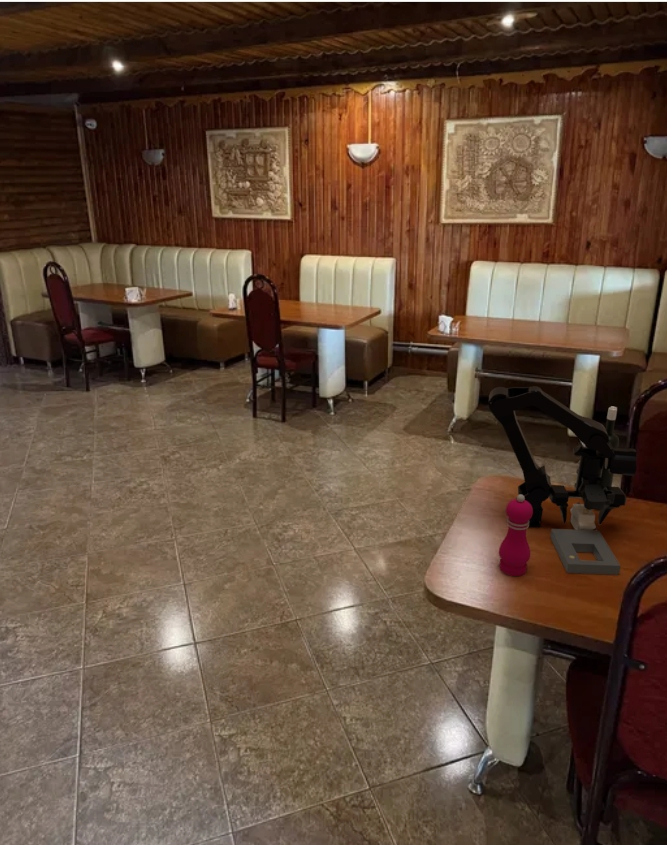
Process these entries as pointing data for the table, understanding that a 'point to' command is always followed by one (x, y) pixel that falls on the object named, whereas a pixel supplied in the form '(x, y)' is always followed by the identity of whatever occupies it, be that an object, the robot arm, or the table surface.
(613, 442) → the wine bottle
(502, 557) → the pepper mill
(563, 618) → the table surface
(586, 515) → the servo
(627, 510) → the table surface
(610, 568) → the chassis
